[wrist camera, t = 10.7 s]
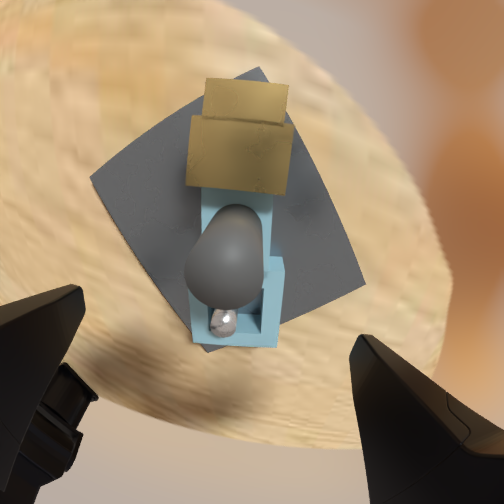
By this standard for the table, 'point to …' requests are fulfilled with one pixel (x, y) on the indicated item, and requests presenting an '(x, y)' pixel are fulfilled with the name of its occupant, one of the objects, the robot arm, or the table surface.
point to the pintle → (224, 322)
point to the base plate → (180, 219)
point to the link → (235, 268)
